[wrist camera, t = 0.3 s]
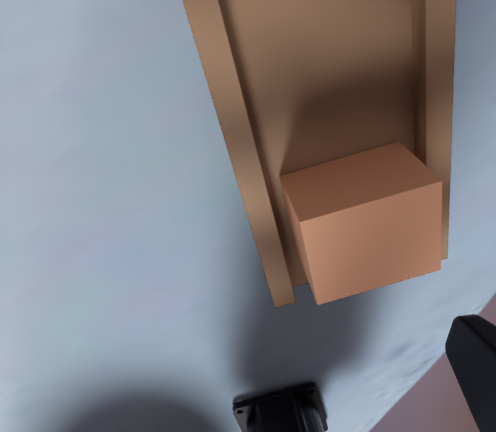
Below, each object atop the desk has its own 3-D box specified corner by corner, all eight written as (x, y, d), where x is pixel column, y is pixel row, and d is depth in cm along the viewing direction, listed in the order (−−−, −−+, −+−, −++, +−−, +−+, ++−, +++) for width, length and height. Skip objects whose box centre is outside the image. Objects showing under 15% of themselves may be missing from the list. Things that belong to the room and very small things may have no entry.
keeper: (402, 222, 24) (440, 269, 20) (297, 252, 24) (317, 305, 20) (399, 141, 21) (442, 181, 17) (279, 176, 21) (299, 222, 18)
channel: (428, 235, 26) (465, 280, 23) (267, 281, 26) (282, 332, 23) (427, -218, 15) (502, -261, 11) (143, -132, 15) (136, -151, 11)
